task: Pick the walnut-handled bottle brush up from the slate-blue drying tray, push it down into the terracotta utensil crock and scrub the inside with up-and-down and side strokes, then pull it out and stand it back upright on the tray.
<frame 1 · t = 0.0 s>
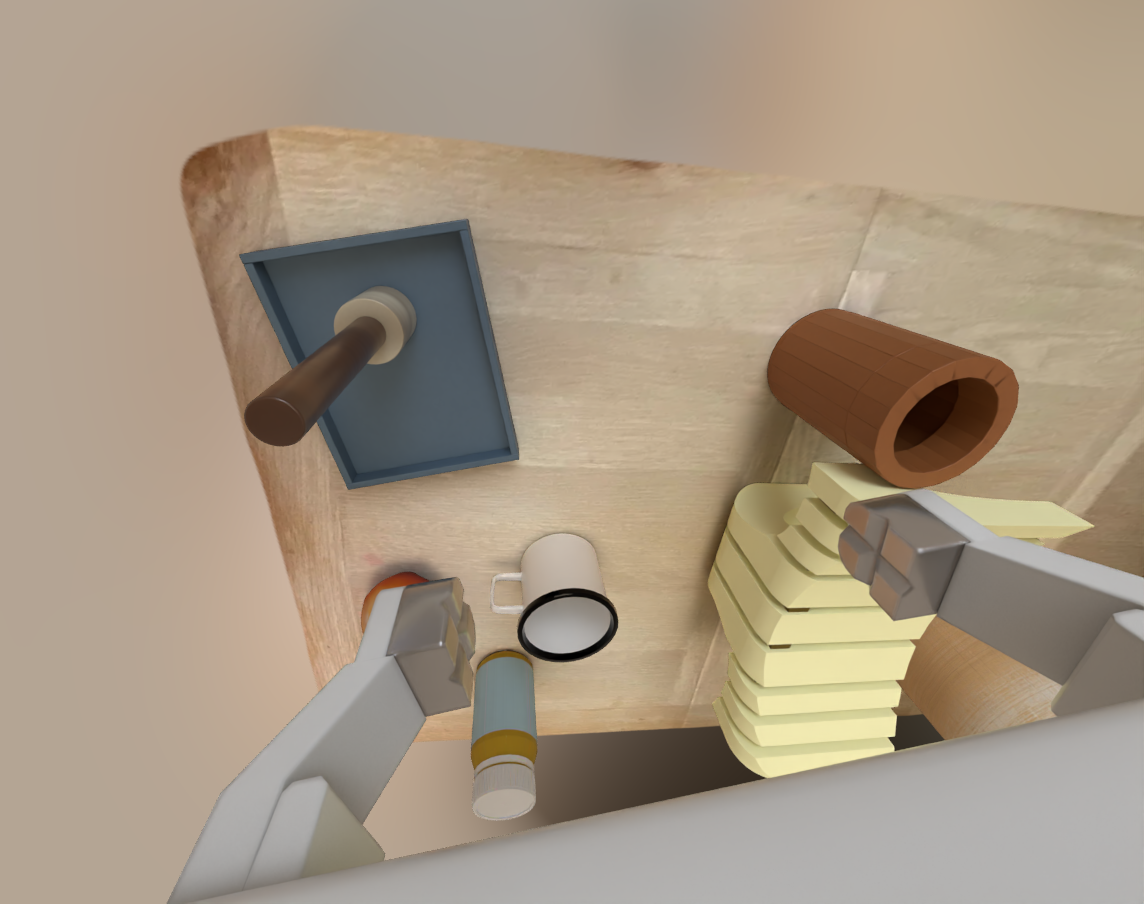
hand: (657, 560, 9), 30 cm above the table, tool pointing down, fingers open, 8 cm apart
drying tray: (404, 364, 37), on the table
fruit: (410, 586, 48), on the table
planter: (954, 630, 66), on the table
slatted curved stool: (774, 531, 51), on the table
mug: (547, 560, 49), on the table
bottle: (504, 665, 57), on the table
terracotta utensil crock: (816, 361, 41), on the table
bottle brush: (386, 316, 34), resting on drying tray
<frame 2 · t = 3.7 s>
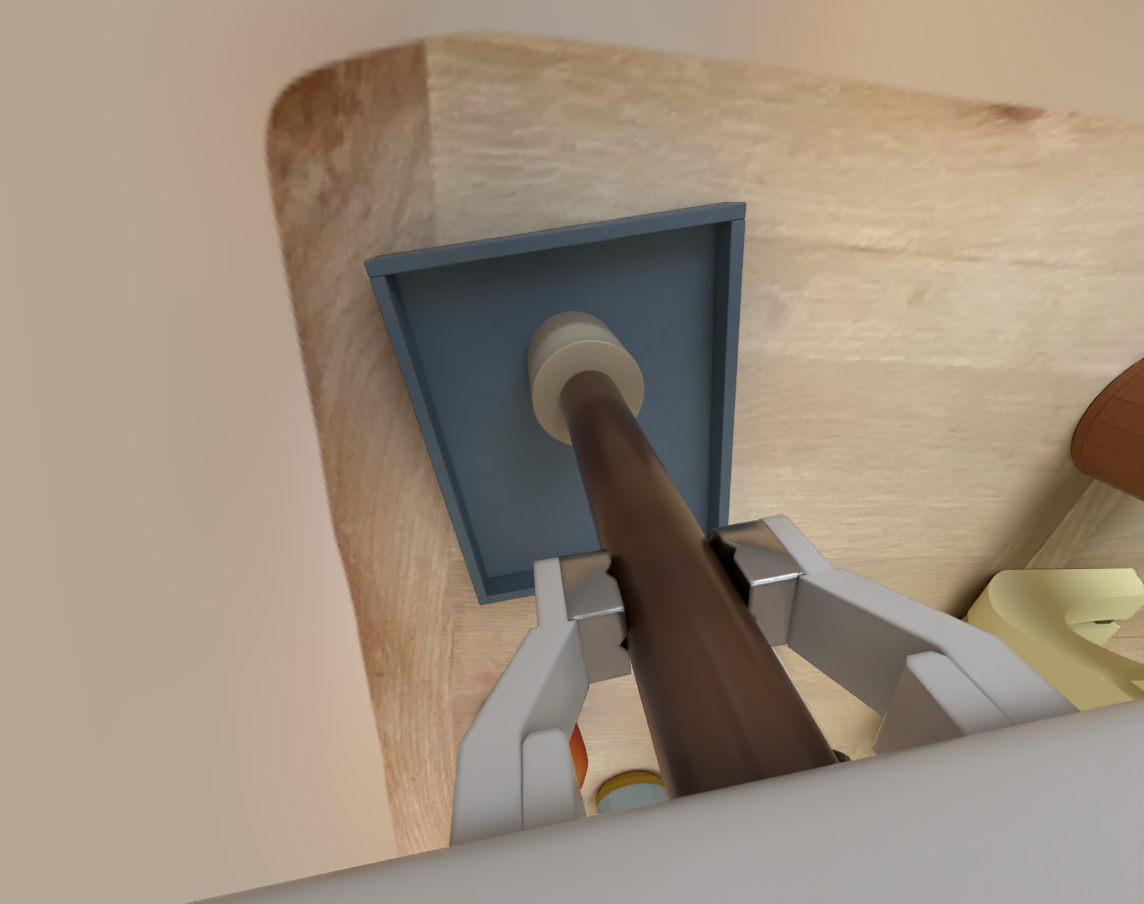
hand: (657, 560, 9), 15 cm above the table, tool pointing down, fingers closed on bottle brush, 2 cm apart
drying tray: (580, 426, 24), on the table
fruit: (530, 706, 36), on the table
slatted curved stool: (1004, 624, 39), on the table
mug: (712, 669, 36), on the table
bottle: (629, 785, 44), on the table
bottle brush: (572, 357, 22), point 1 cm above the table, touching drying tray, gripper
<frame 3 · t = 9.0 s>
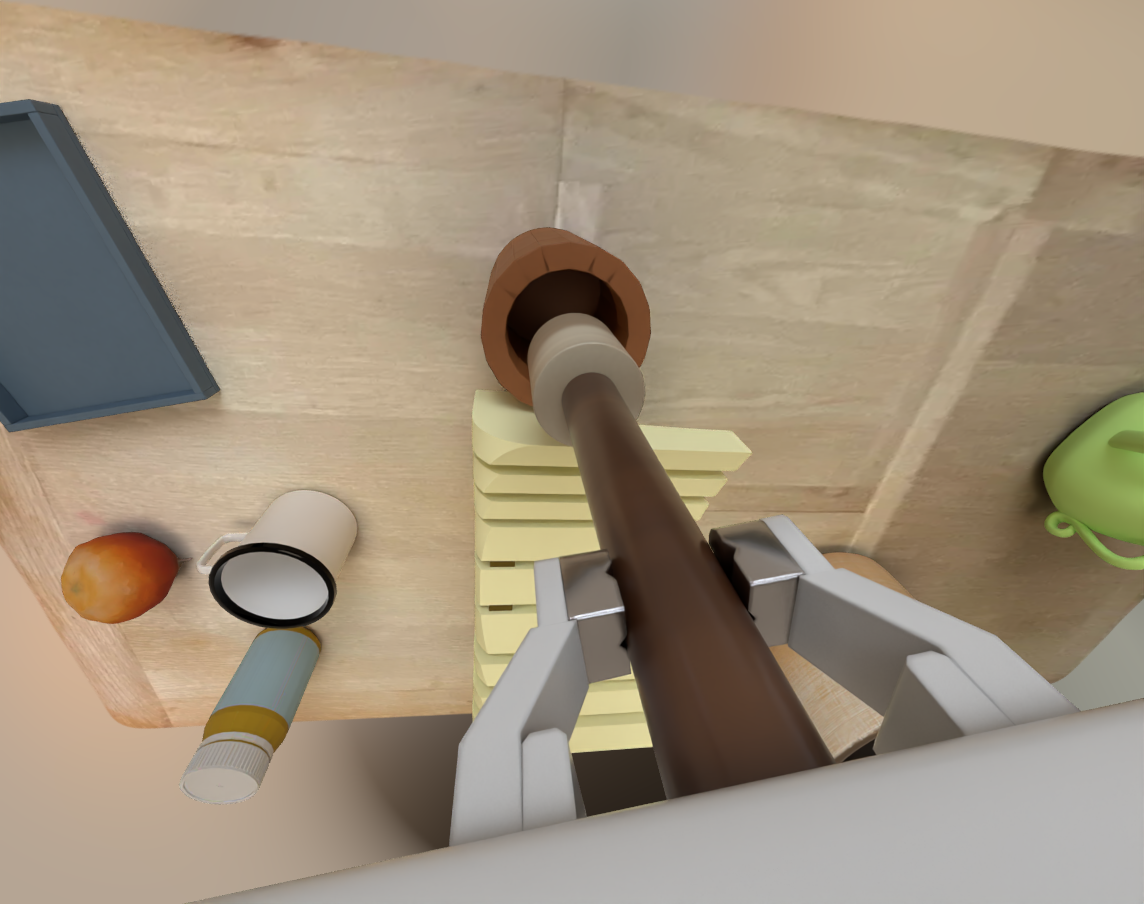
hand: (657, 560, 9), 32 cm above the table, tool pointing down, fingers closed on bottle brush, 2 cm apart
drying tray: (43, 285, 32), on the table
fruit: (147, 549, 44), on the table
teapot: (1112, 439, 53), on the table
planter: (802, 605, 61), on the table
slatted curved stool: (559, 491, 47), on the table
mug: (300, 521, 45), on the table
bottle: (291, 640, 53), on the table
terracotta utensil crock: (547, 291, 37), on the table
bottle brush: (573, 359, 22), point 18 cm above the table, touching gripper
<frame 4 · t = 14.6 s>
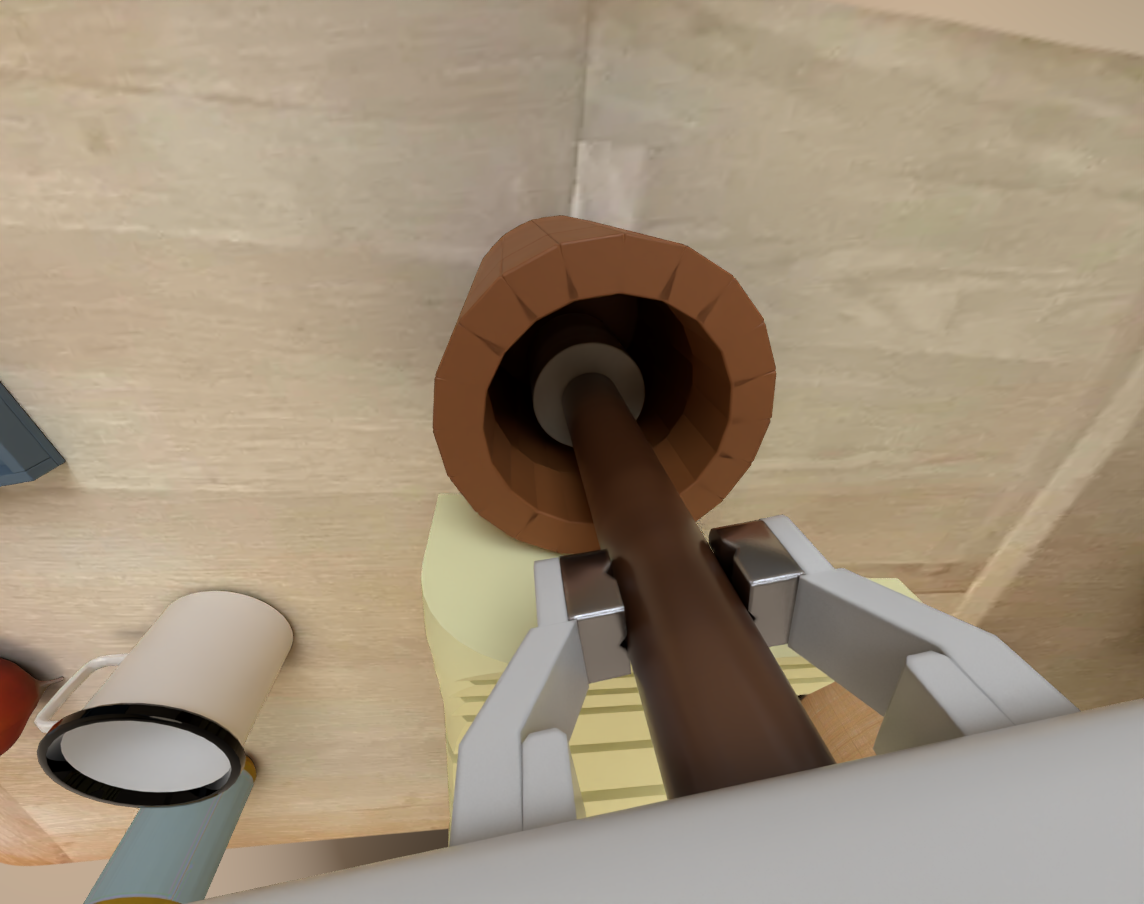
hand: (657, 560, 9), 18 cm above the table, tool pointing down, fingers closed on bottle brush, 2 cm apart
planter: (872, 697, 49), on the table
slatted curved stool: (570, 579, 34), on the table
mug: (213, 627, 32), on the table
bottle: (217, 763, 40), on the table
terracotta utensil crock: (558, 313, 24), on the table
bottle brush: (573, 359, 22), point 4 cm above the table, touching gripper
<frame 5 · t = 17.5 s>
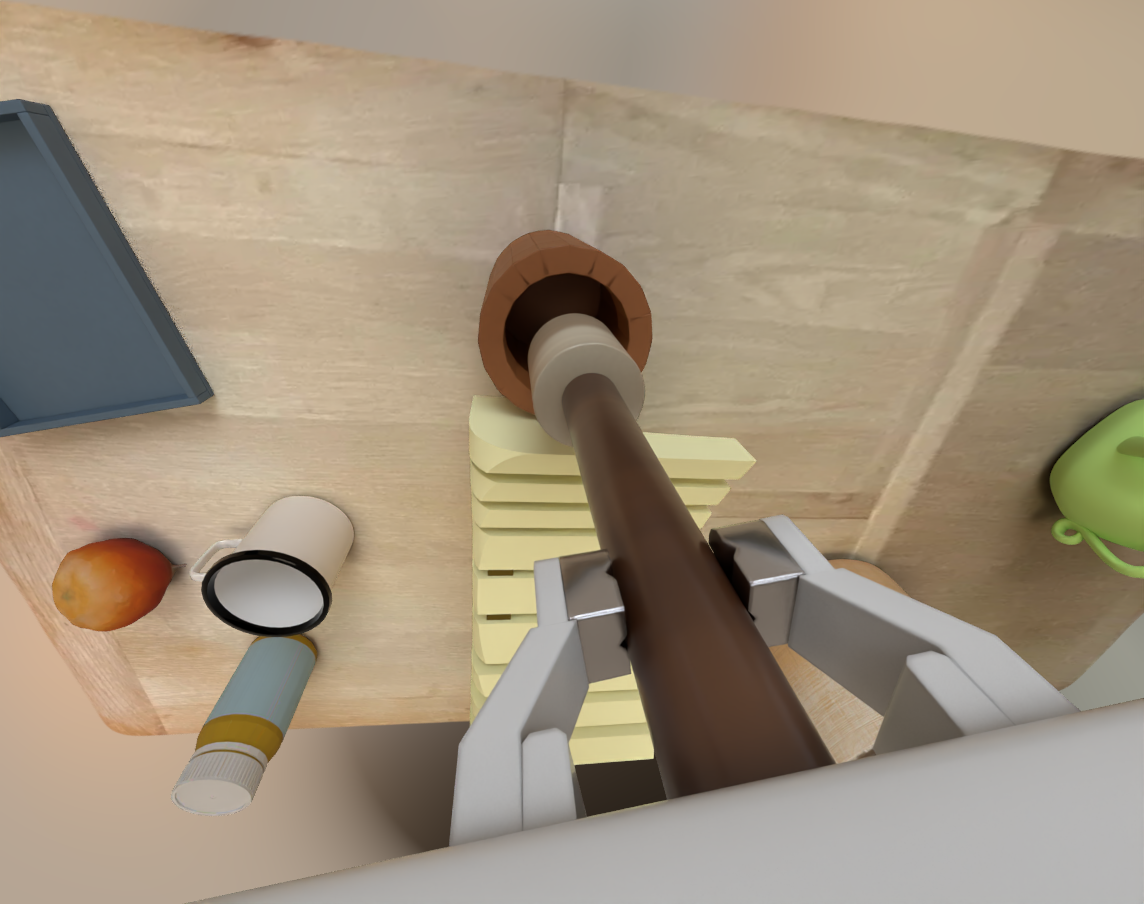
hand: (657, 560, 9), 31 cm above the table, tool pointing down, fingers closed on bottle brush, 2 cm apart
drying tray: (35, 288, 32), on the table
fruit: (141, 555, 44), on the table
teapot: (1120, 445, 53), on the table
planter: (805, 612, 61), on the table
slatted curved stool: (558, 497, 46), on the table
mug: (296, 527, 44), on the table
bottle: (287, 647, 52), on the table
terracotta utensil crock: (547, 294, 36), on the table
bottle brush: (573, 359, 22), point 17 cm above the table, touching gripper
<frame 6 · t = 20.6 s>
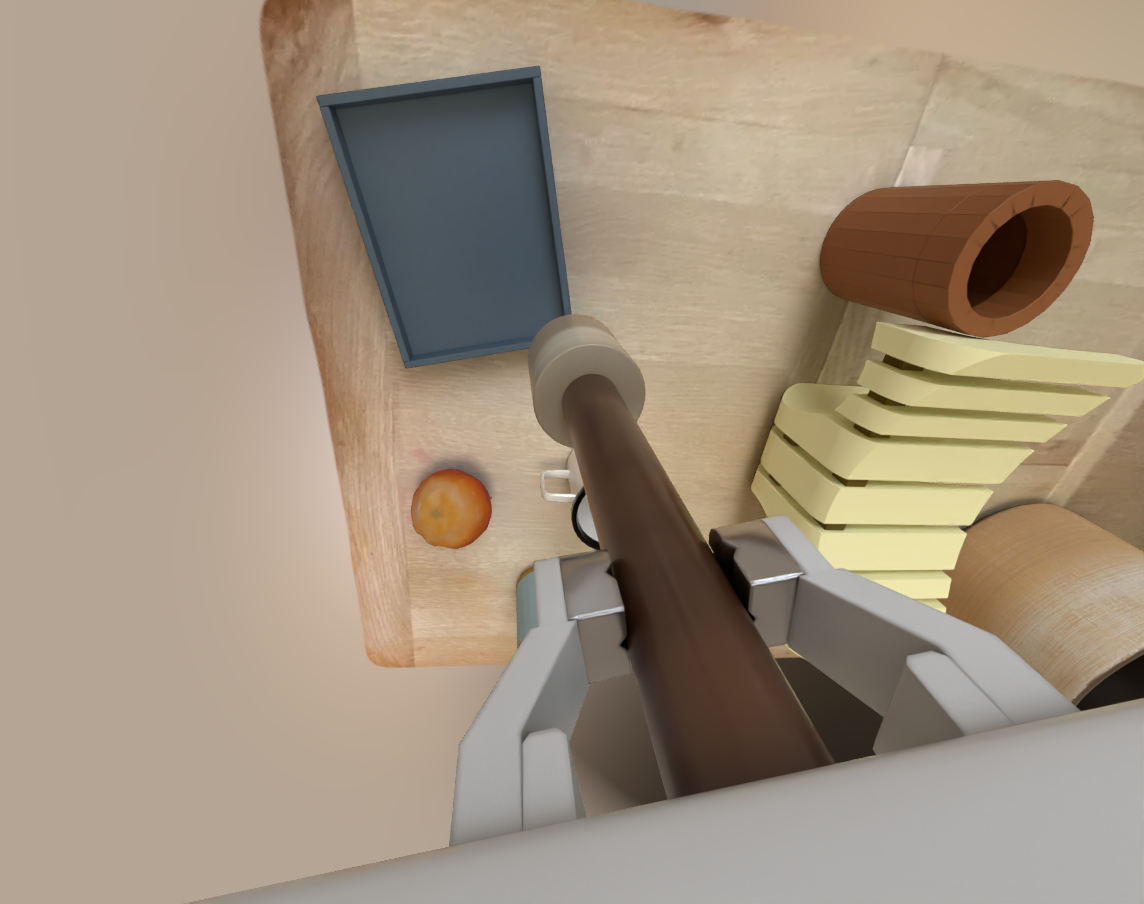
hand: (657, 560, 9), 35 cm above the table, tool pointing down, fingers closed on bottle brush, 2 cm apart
drying tray: (466, 234, 37), on the table
fruit: (456, 487, 49), on the table
planter: (987, 558, 66), on the table
slatted curved stool: (816, 438, 51), on the table
mug: (592, 463, 49), on the table
bottle: (543, 581, 57), on the table
terracotta utensil crock: (869, 247, 41), on the table
bottle brush: (573, 360, 22), point 21 cm above the table, touching gripper
when the fingers open (14 cm above the table, at t = 25.5 s): bottle brush stays where it is, resting on drying tray.
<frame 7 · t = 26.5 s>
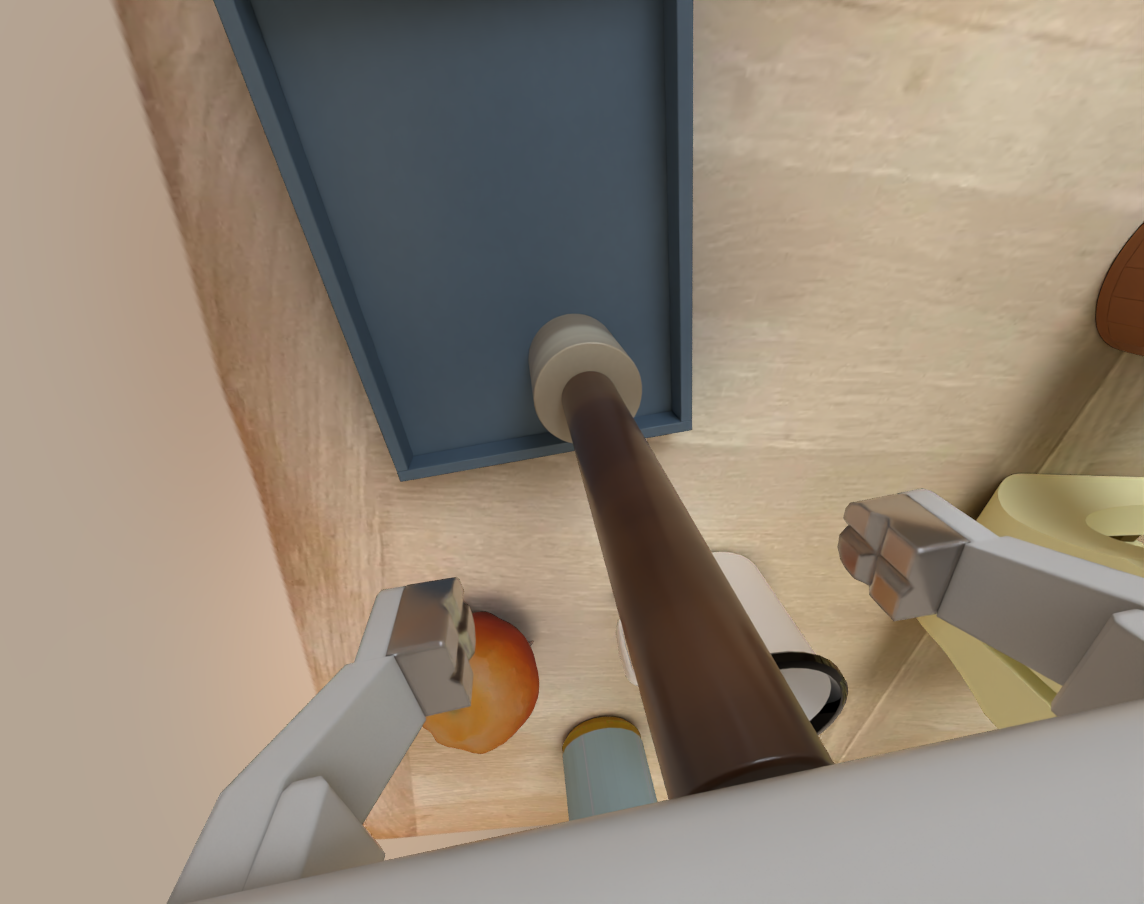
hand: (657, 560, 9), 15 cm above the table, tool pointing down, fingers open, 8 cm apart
drying tray: (511, 250, 20), on the table
fruit: (480, 631, 32), on the table
slatted curved stool: (1014, 546, 35), on the table
mug: (686, 591, 32), on the table
bottle: (599, 734, 40), on the table
bottle brush: (572, 358, 22), resting on drying tray
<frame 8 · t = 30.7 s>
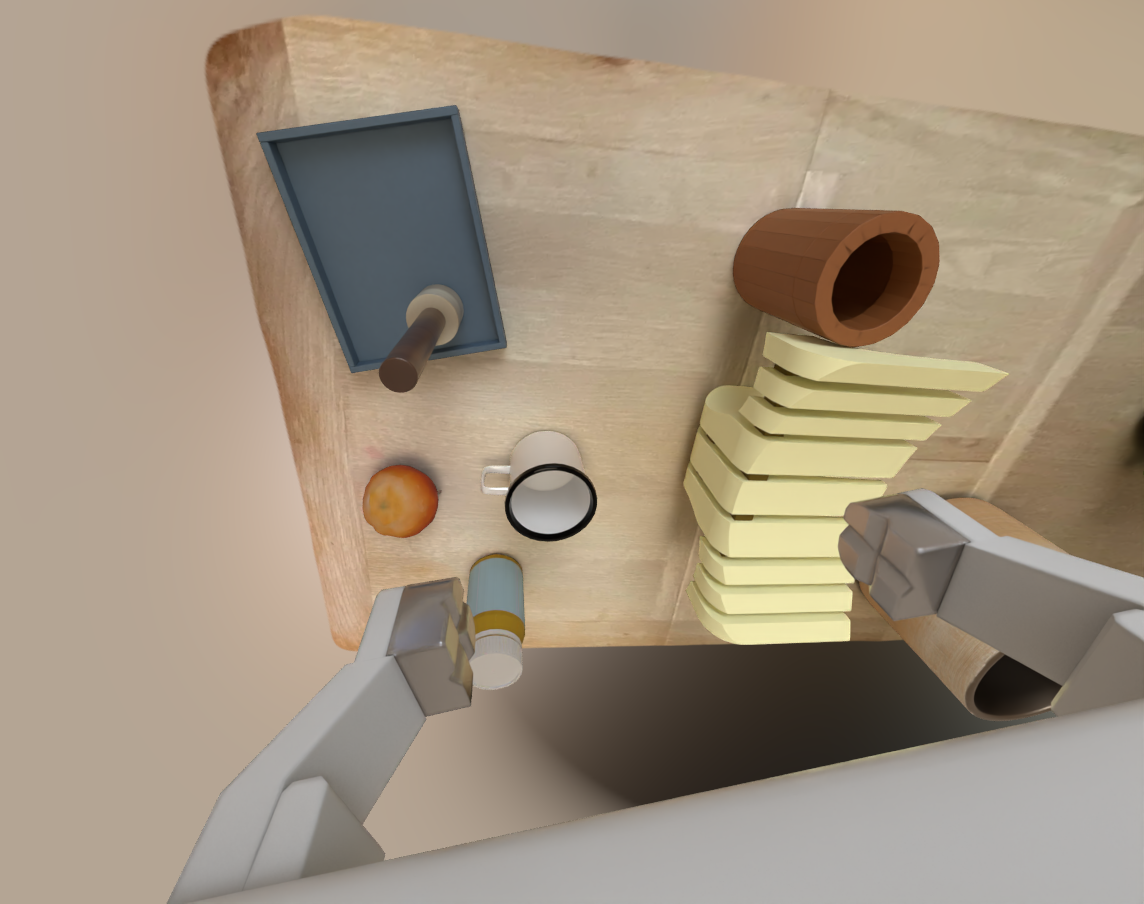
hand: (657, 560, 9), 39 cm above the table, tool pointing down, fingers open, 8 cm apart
drying tray: (402, 252, 41), on the table
fruit: (408, 482, 52), on the table
planter: (921, 549, 70), on the table
slatted curved stool: (745, 437, 55), on the table
mug: (534, 459, 53), on the table
bottle: (496, 570, 61), on the table
terracotta utensil crock: (778, 261, 45), on the table
bottle brush: (440, 308, 43), resting on drying tray
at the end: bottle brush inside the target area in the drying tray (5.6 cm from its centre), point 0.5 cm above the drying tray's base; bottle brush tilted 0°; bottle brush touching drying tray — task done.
